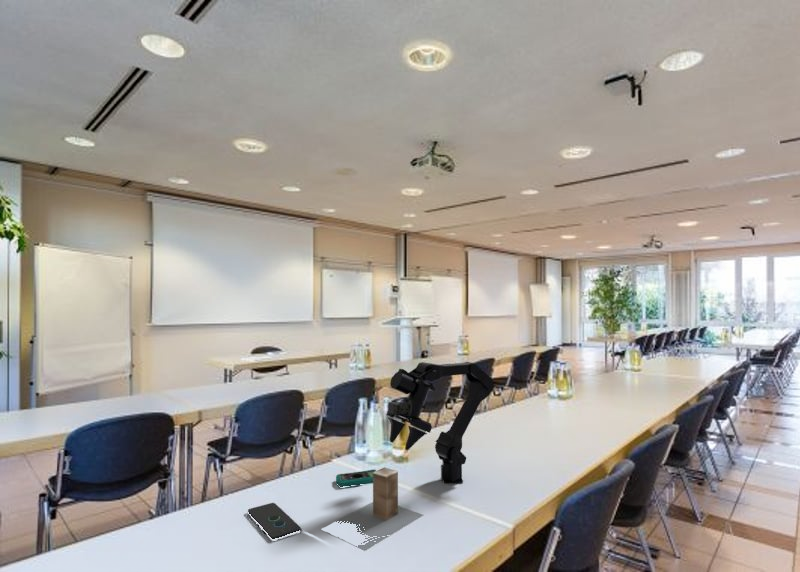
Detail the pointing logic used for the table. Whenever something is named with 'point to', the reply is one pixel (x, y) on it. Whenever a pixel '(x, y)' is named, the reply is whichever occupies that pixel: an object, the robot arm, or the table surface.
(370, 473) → the digital multimeter
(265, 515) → the dark grey notebook
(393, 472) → the walnut block
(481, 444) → the table surface
